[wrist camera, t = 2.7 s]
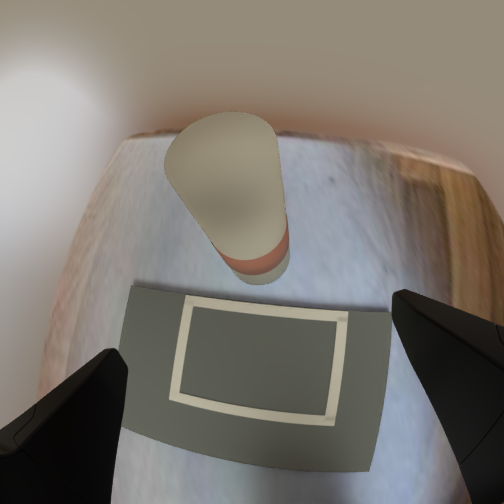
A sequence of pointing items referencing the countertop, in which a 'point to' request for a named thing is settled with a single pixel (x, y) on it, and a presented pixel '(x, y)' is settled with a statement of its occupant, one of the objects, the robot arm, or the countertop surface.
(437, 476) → the countertop surface
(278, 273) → the player figure
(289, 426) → the mat
